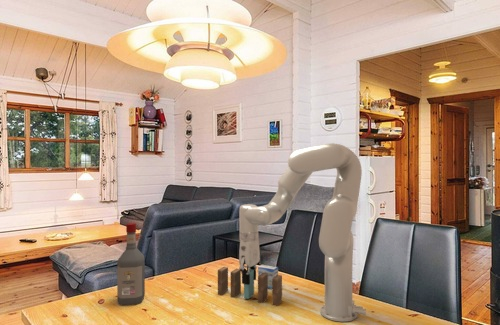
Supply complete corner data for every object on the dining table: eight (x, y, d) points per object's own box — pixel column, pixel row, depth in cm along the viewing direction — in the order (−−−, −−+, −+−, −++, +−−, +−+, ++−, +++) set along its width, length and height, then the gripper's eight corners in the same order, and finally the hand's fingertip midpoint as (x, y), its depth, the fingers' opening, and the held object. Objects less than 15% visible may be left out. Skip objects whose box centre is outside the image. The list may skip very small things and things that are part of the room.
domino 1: (228, 291, 143) (228, 267, 143) (221, 295, 139) (221, 270, 139) (223, 290, 144) (223, 266, 144) (217, 294, 140) (217, 270, 140)
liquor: (141, 305, 129) (141, 225, 129) (116, 306, 128) (115, 226, 128) (145, 295, 139) (145, 221, 139) (122, 296, 137) (121, 222, 137)
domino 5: (282, 301, 133) (282, 275, 133) (277, 306, 128) (277, 279, 128) (277, 300, 134) (277, 274, 134) (272, 305, 129) (272, 278, 129)
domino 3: (254, 294, 138) (254, 269, 138) (248, 298, 133) (248, 273, 133) (249, 293, 139) (249, 268, 139) (243, 298, 134) (243, 272, 134)
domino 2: (240, 293, 141) (240, 269, 141) (234, 297, 136) (234, 272, 136) (236, 292, 141) (236, 268, 141) (230, 297, 137) (230, 272, 137)
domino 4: (267, 298, 135) (267, 273, 135) (262, 303, 131) (262, 277, 131) (263, 297, 136) (263, 272, 136) (257, 302, 132) (257, 276, 132)
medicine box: (257, 286, 148) (257, 266, 148) (262, 283, 152) (261, 264, 152) (274, 290, 145) (274, 269, 145) (278, 286, 148) (278, 266, 148)
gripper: (247, 241, 127) (248, 290, 127) (266, 232, 142) (266, 276, 142) (230, 239, 130) (230, 287, 130) (249, 231, 145) (250, 274, 145)
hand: (249, 281), depth 136 cm, fingers closed on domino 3, 4 cm apart
